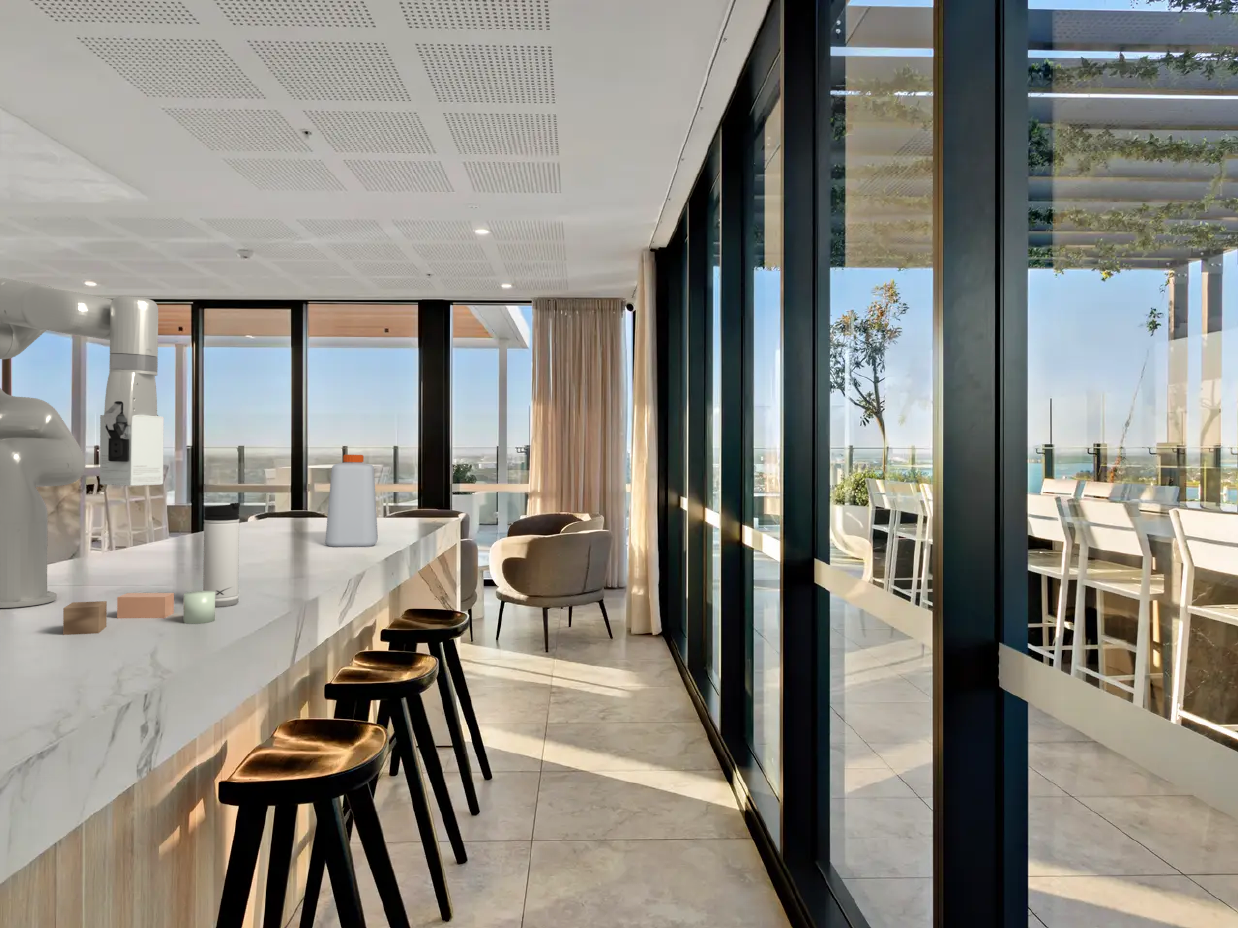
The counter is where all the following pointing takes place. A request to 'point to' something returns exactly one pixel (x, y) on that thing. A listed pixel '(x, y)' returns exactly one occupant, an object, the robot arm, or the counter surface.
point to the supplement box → (135, 453)
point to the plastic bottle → (352, 504)
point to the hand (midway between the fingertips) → (132, 460)
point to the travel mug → (221, 553)
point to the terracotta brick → (145, 605)
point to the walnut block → (84, 617)
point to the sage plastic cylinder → (199, 607)
